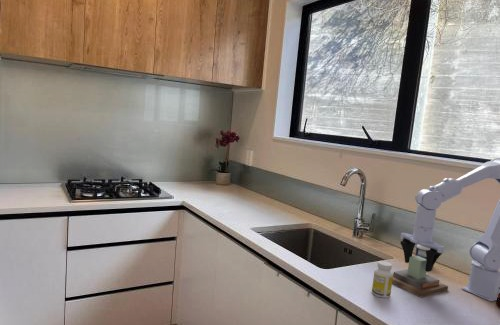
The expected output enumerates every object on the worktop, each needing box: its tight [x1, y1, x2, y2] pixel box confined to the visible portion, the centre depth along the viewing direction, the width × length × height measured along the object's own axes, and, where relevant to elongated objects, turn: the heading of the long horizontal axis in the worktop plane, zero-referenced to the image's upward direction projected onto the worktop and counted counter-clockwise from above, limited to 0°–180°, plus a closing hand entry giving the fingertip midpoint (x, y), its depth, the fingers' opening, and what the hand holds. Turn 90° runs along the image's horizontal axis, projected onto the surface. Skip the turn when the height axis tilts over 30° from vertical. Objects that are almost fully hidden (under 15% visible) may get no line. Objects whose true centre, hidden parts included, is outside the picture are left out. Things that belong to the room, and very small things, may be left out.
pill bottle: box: [414, 244, 430, 259], centre depth 147 cm, size 5×5×10 cm
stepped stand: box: [392, 268, 449, 298], centre depth 126 cm, size 14×14×3 cm
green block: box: [407, 255, 427, 279], centre depth 125 cm, size 4×4×6 cm
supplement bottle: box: [371, 260, 394, 299], centre depth 115 cm, size 5×5×10 cm
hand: (417, 266), depth 125 cm, fingers open, 7 cm apart
